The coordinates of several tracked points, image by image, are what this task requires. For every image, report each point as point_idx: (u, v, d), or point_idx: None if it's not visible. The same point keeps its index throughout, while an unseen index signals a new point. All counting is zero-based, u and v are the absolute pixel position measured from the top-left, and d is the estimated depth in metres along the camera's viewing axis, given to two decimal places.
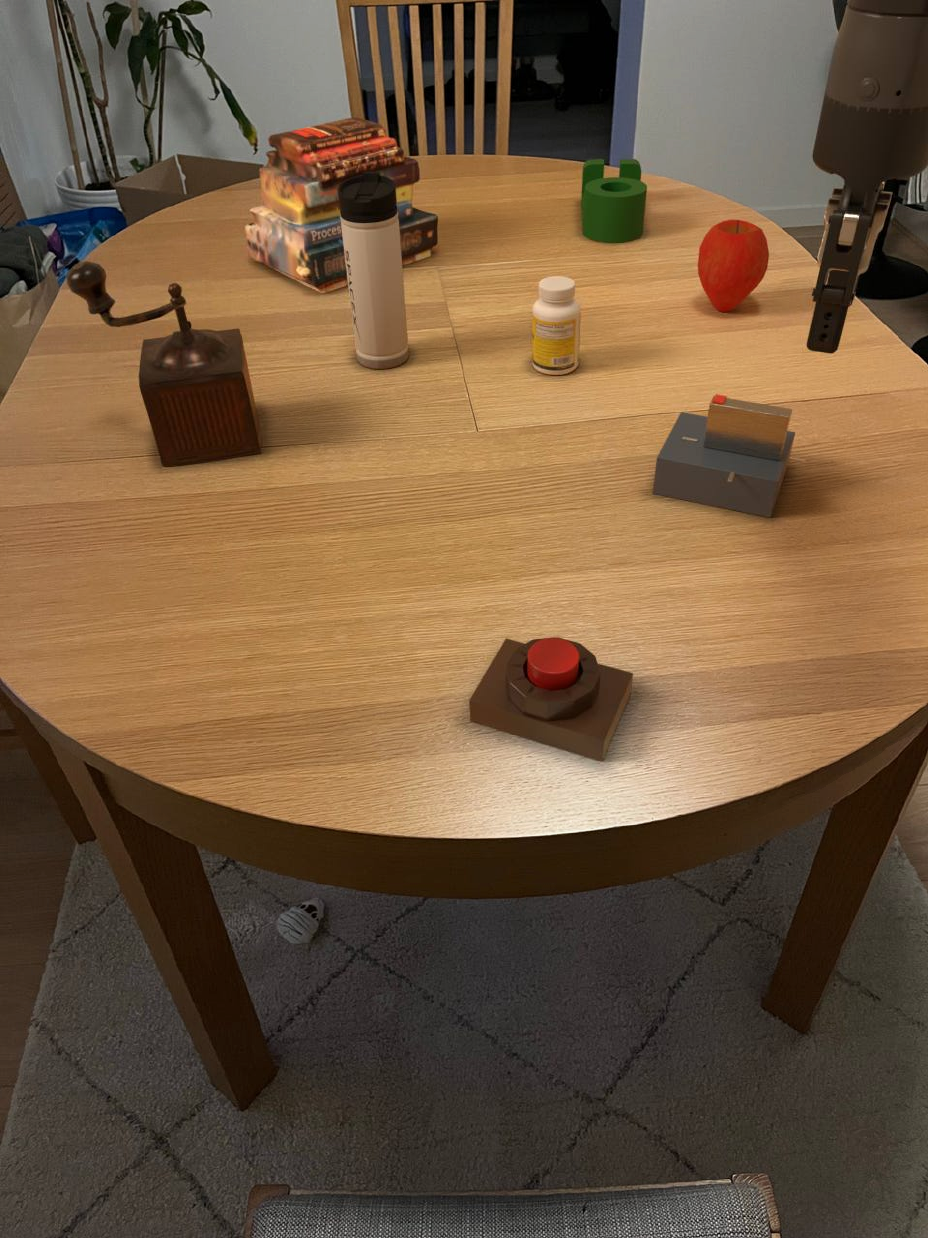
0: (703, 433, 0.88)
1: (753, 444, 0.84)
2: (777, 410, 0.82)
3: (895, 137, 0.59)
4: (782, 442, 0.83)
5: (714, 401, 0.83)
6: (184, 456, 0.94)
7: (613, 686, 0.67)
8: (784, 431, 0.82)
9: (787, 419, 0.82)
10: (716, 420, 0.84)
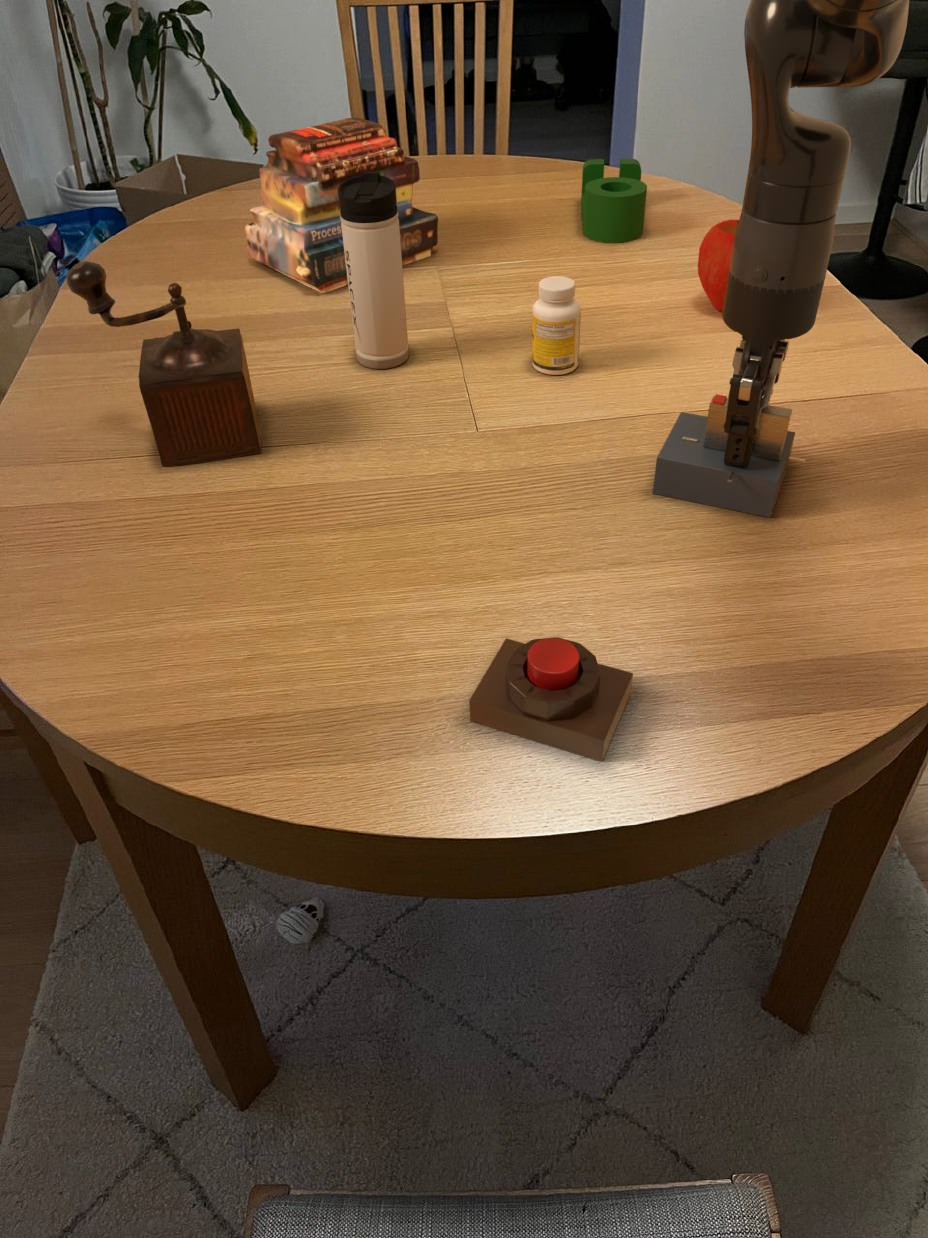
0: (703, 433, 0.88)
1: (753, 444, 0.84)
2: (777, 410, 0.82)
3: (782, 310, 0.73)
4: (782, 442, 0.83)
5: (714, 401, 0.83)
6: (184, 456, 0.94)
7: (613, 686, 0.67)
8: (784, 431, 0.82)
9: (787, 419, 0.82)
10: (716, 420, 0.84)
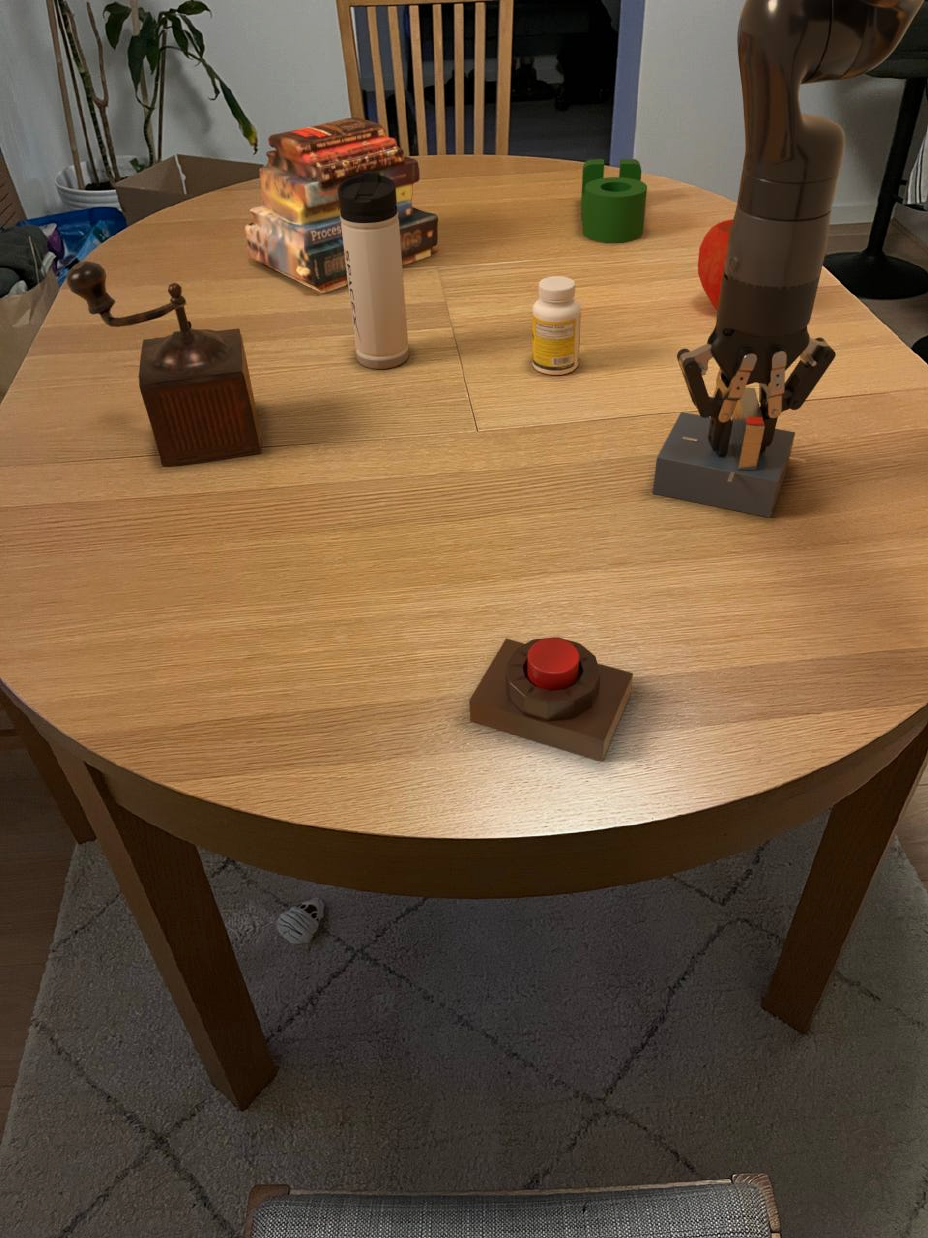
0: (703, 433, 0.88)
1: None
2: (747, 393, 0.85)
3: None
4: None
5: (762, 422, 0.81)
6: (184, 456, 0.94)
7: (613, 686, 0.67)
8: None
9: (754, 390, 0.86)
10: None
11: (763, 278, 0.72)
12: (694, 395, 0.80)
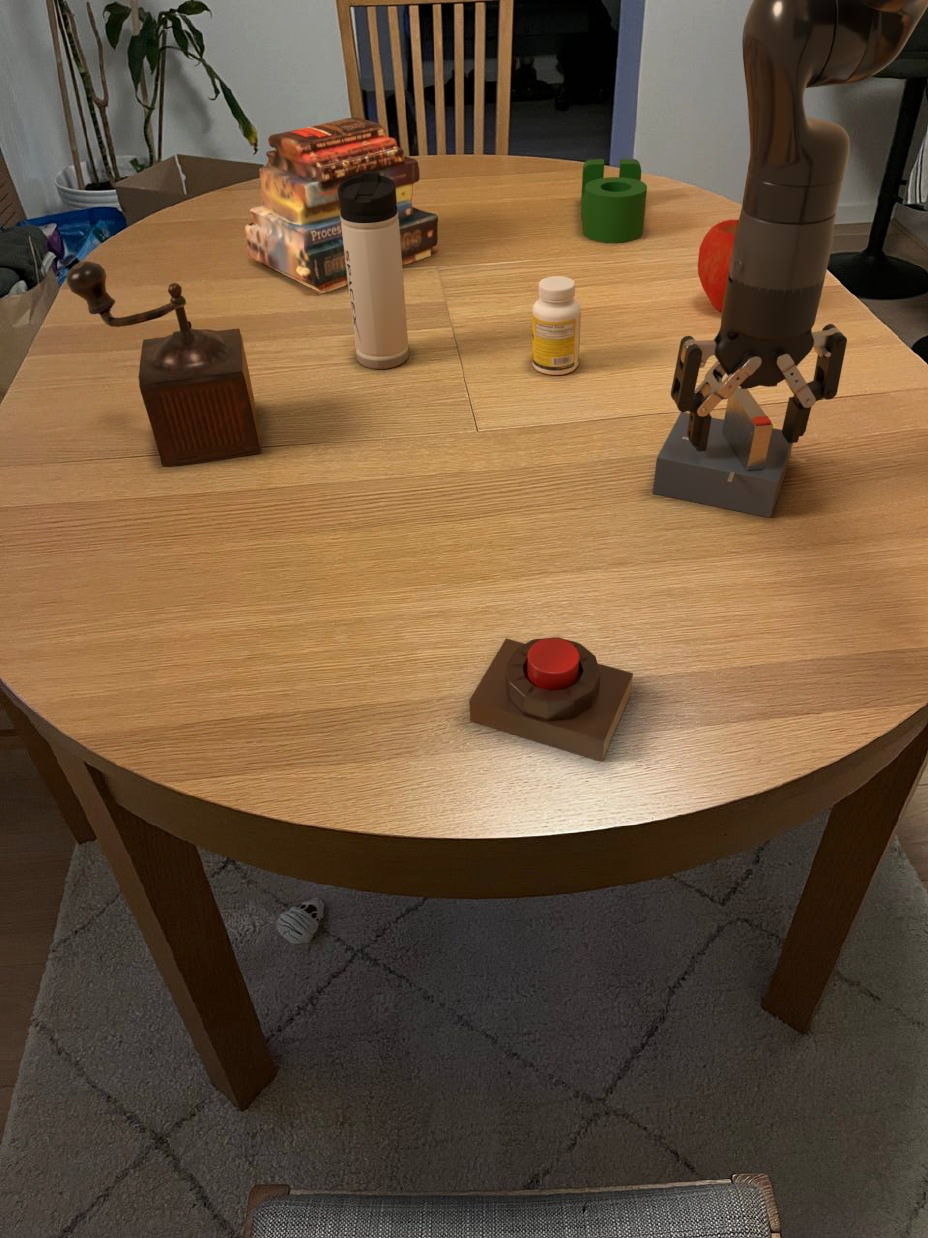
0: None
1: None
2: (741, 393, 0.85)
3: None
4: None
5: (770, 421, 0.81)
6: (184, 456, 0.94)
7: (613, 686, 0.67)
8: None
9: None
10: None
11: (768, 281, 0.72)
12: (683, 384, 0.79)
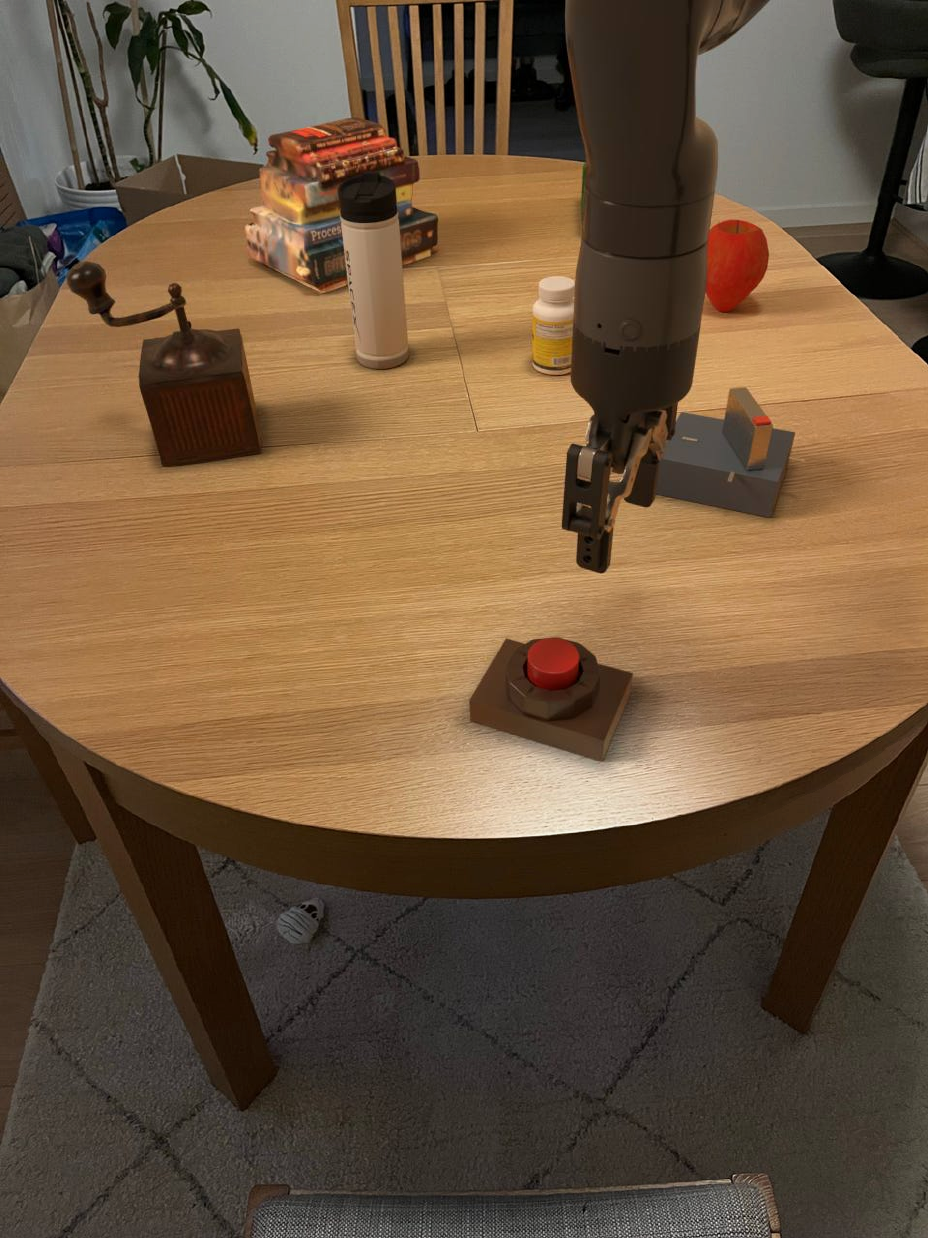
0: (703, 433, 0.88)
1: None
2: (741, 393, 0.85)
3: None
4: None
5: (770, 421, 0.81)
6: (184, 456, 0.94)
7: (613, 686, 0.67)
8: None
9: None
10: None
11: (678, 332, 0.52)
12: (600, 505, 0.56)
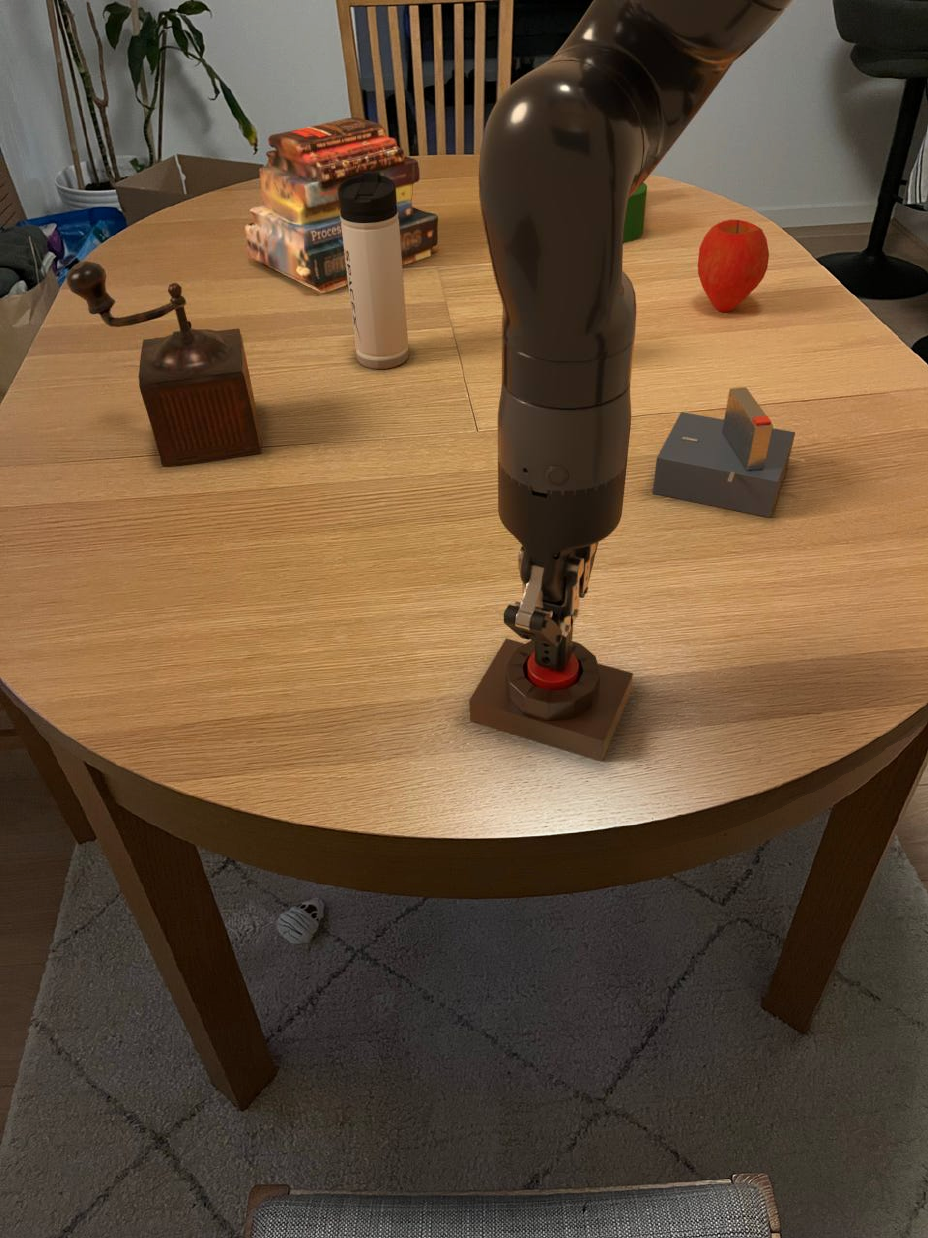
0: (703, 433, 0.88)
1: None
2: (741, 393, 0.85)
3: None
4: None
5: (770, 421, 0.81)
6: (184, 456, 0.94)
7: (613, 686, 0.67)
8: None
9: None
10: None
11: (605, 474, 0.51)
12: (550, 640, 0.58)
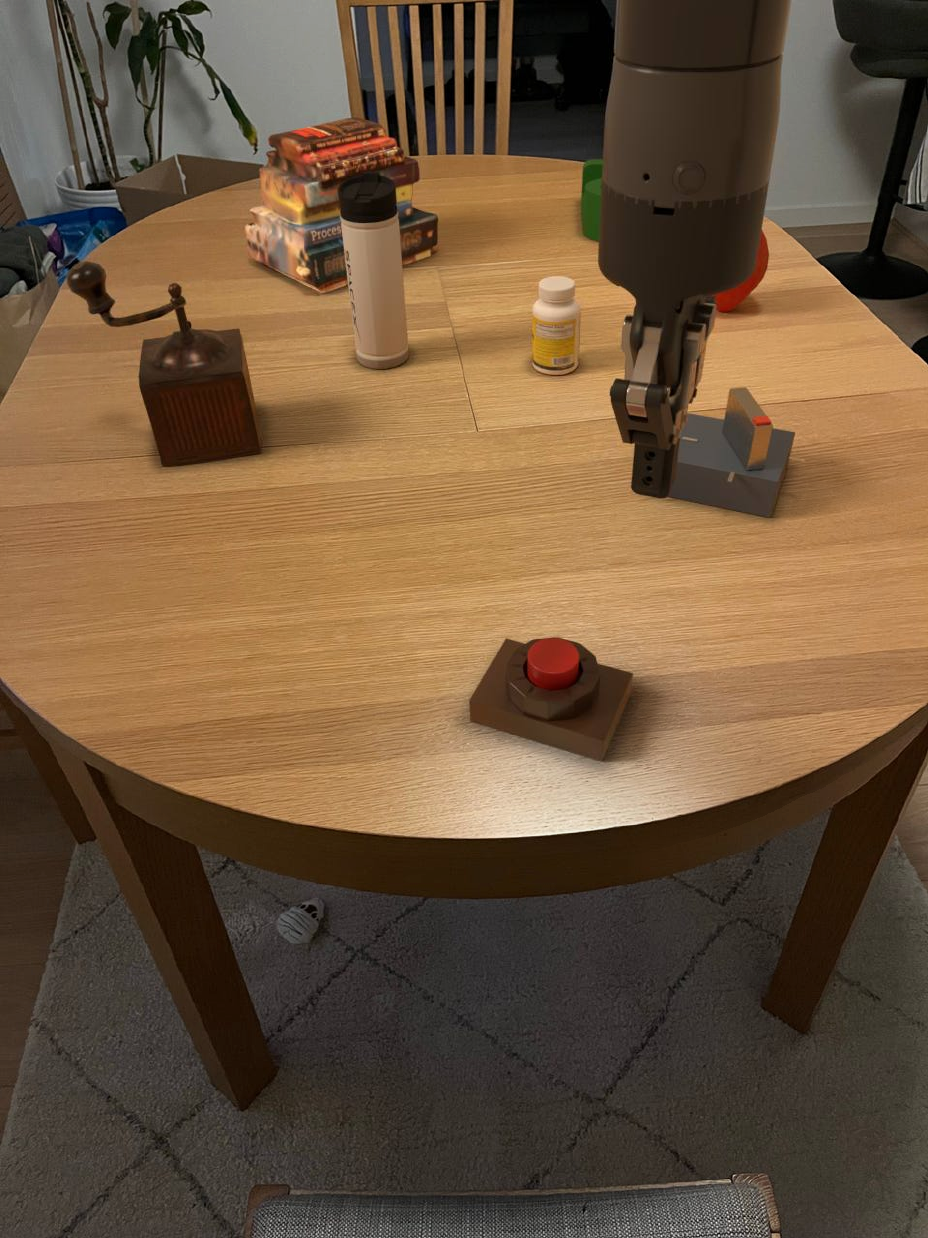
0: (703, 433, 0.88)
1: None
2: (741, 393, 0.85)
3: None
4: None
5: (770, 421, 0.81)
6: (184, 456, 0.94)
7: (613, 686, 0.67)
8: None
9: None
10: None
11: (750, 180, 0.40)
12: (665, 431, 0.46)
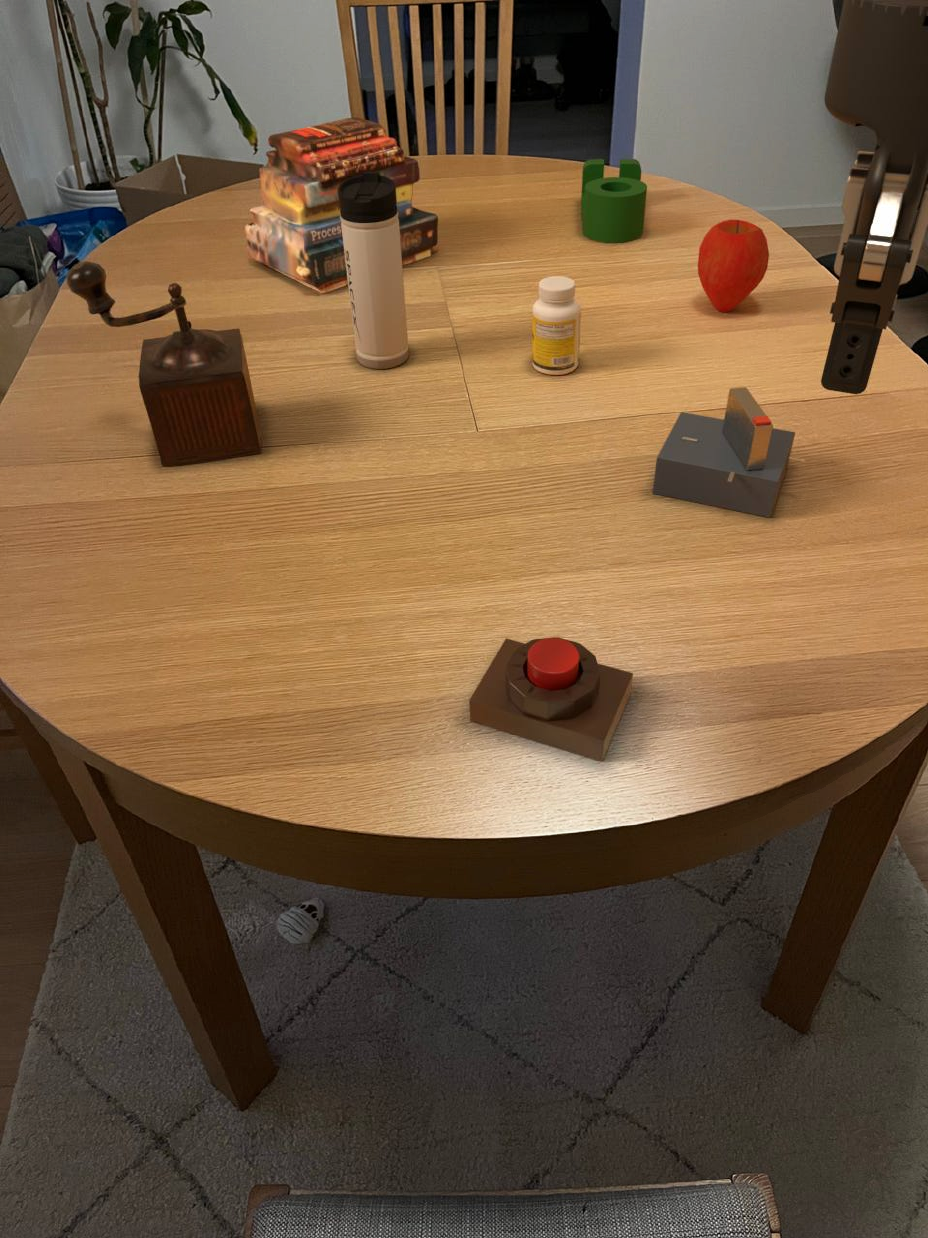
0: (703, 433, 0.88)
1: None
2: (741, 393, 0.85)
3: None
4: None
5: (770, 421, 0.81)
6: (184, 456, 0.94)
7: (613, 686, 0.67)
8: None
9: None
10: None
11: None
12: (894, 301, 0.40)
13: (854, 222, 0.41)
